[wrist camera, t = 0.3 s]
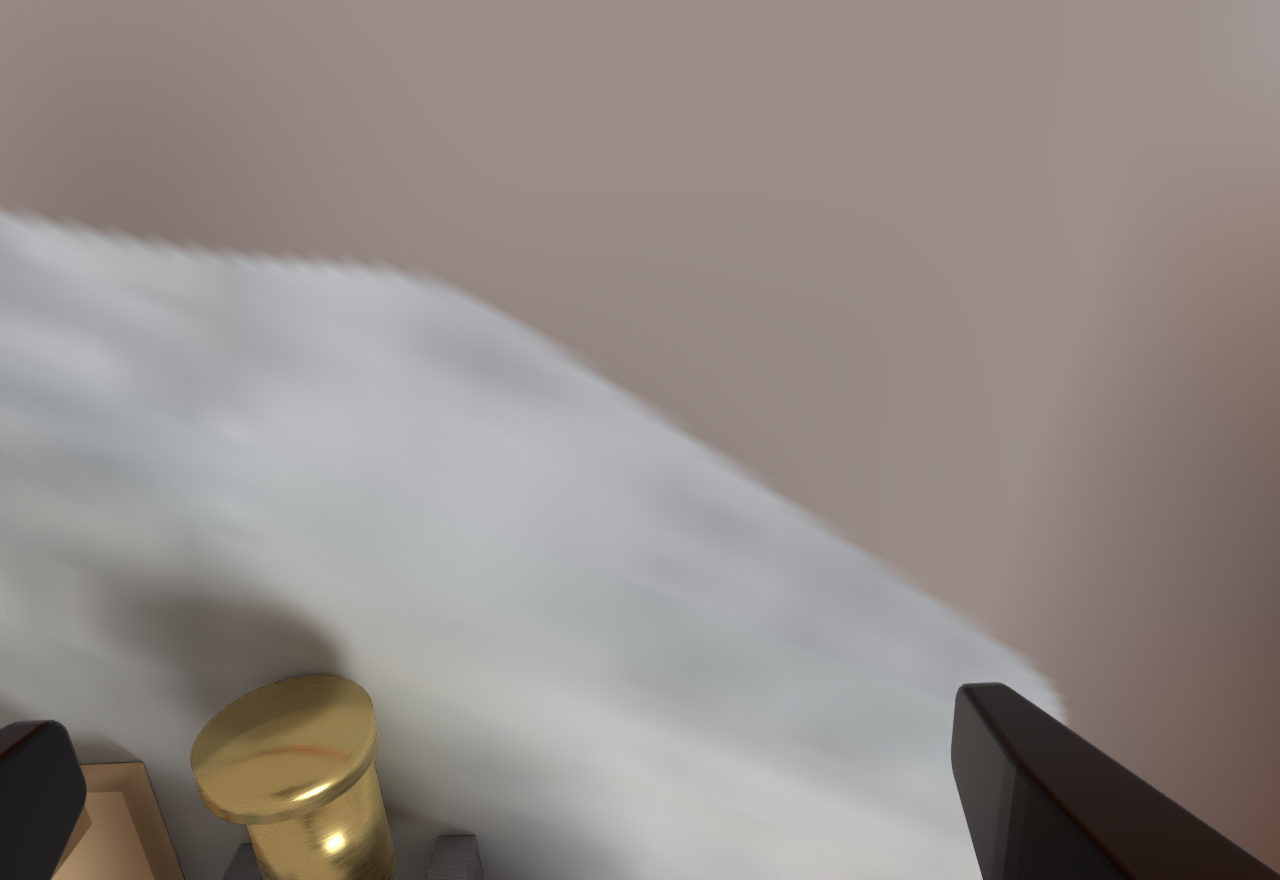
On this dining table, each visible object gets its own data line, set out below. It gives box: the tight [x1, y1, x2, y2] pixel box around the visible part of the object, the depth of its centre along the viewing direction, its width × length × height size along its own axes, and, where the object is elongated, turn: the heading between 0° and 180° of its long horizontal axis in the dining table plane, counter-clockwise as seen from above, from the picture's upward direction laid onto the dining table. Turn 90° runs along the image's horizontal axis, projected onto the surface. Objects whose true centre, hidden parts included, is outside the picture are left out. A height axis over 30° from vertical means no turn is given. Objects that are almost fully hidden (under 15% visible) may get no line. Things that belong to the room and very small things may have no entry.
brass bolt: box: [191, 675, 396, 880], centre depth 25 cm, size 6×5×5 cm
